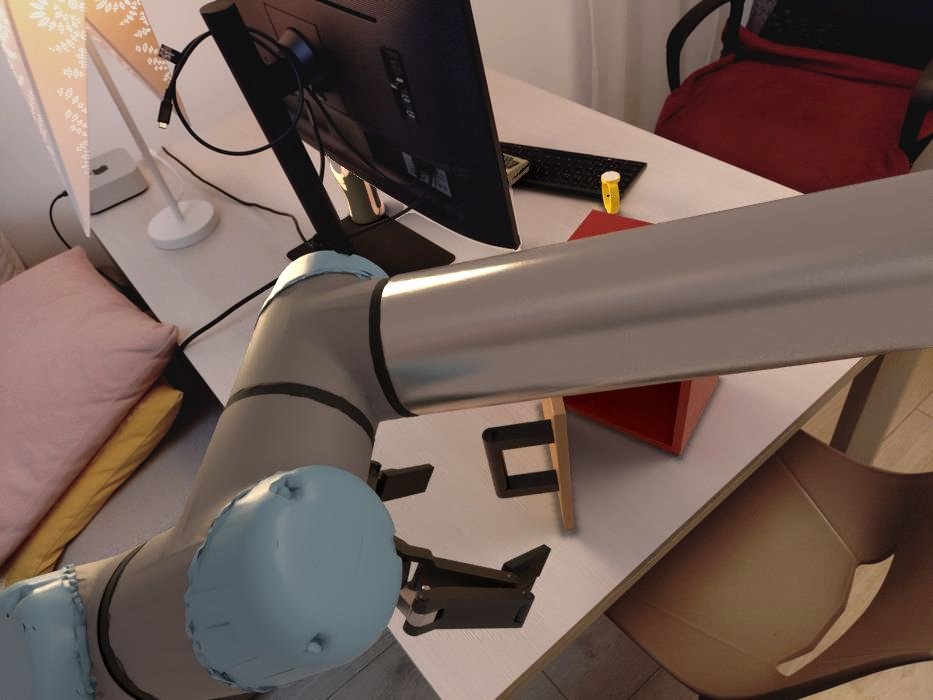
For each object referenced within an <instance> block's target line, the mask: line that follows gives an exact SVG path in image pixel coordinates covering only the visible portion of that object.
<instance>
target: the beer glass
mask: <svg viewBox="0 0 933 700" xmlns="http://www.w3.org/2000/svg"><path fill="white" fill-rule="evenodd" d="M325 156H326V159H327V162H328V166H329V168H330V171H331V172H332V174H333V177H334V179H335V181H336V182H337V184H338V186H339V187H340V190H341V191H342V192H343V194H344V196H345V198H346V201H347V204H348V208H349V215H350V218H351V220H352V221H353V222H354V223H356V224H360V225H366V224H370V223H374V222H376V221H378V220H379V219H381V218H382V217H383V215H384V214H385V211H386V208H385V207H386V206H385V205H384V203H383V201H382V199H381V198H380V195H379V193H378V188H377V187H376V188H375V187H373V186H372V185H370V184H369V183H367V182H365V181H364V180H362V179H360V178H359V177H357V176H356V175H354V174H353V173H351V172H350V171H348V170H347V169H345V168H344V167H342V166H340V165H338V164H337V163H336V162H335V161H333V160H332V159H330V157H329V156H327V154H326V153H325Z"/></svg>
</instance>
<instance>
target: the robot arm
mask: <svg viewBox="0 0 933 700" xmlns="http://www.w3.org/2000/svg"><path fill="white" fill-rule="evenodd" d="M928 349H933V168H929V169H925V170H919V171H915V172H910V173H909V172H908V173H905V174H900V175H895V176H890V177H885V178H884V177H883V178H879V179H875V180H869V181H865V182H864V181H863V182H859V183H855V184H849V185H844V186H839V187H833V188H829V189H824V190H823V189H822V190H819V191H814V192H809V193H803V194H798V195H793V196H789V197H783V198H778V199H773V200H769V201H764V202H758V203H754V204H747V205H743V206H739V207H733V208H727V209H723V210H718V211H714V212H708V213H702V214H699V215H692V216H687V217H684V218H678V219H677V218H676V219H673V220H668V221H662V222H658V223H654V224H652V225H647V226H642V227H637V228H632V229H627V230H622V231H617V232H612V233H607V234H601V235H596V236H591V237H586V238H581V239H576V240H571V241H567V240H566V241H561V242H556V243H551V244H546V245H542V246H537V247H531V248H526V249H523V250H522V249H521V251H516V252H514V251H512V252H505V253H502V254H501V253H500V254H496V255H490V256H486V257H481V258H480V257H479V258H476V259H470V260H466V261H461V262H456V263H455V262H454V263H451V264H446V265H441V266H436V267H431V268H430V267H429V268H425V269H420V270H416V271H411V272H410V271H409V272H405V273H399V274H396V275H394V276H389V275H388V274H387V273H386V271H384V270H383V269H382V268H381V267H380V266H379V265H377V264H375V263H374V262H372V261H371V260H369V259H367V258H365V257H363V256H360V255H357V254H352V255H348V254H343V253H339V252H338V253H337V252H336V250H319V251H313V252H311V253H307V254H304V255H302V256H300V257H298V258H297V259H295V260H294V261H292V262H291V263H290V264H289V265H287V267H286V268H285V269H284V270H283V271H282V272H281V274H280V275H279V277H278V279H277V280H276V283H275V285H274V287H273V289H272V291H271V293H270V295H269V296H268V297H267V299H266V300H265V301H264V302H263V304H262V306H261V308H260V310H259V312H258V314H257V317H256V321H255V325H254V328H253V333H252V335H251V339H250V341H249V344H248V347H247V349H246V351H245V354H244V356H243V357H244V358H243V360H242V362H241V365H240V368H239V370H238V372H237V374H236V375H237V376H236V378H235V381H234V383H233V386H232V389H231V391H230V394H229V397H228V399H227V401H226V404H225V405H224V408H223V411H222V413H221V415H220V416H219V419H218V421H217V424H216V426H215V429H214V432H213V434H212V436H211V439H210V442H209V444H208V446H207V448H206V452H205V454H204V457H203V459H202V461H201V464H200V466H199V468H198V471H197V474H196V477H195V479H194V481H193V484H192V486H191V489H190V491H189V493H188V497H187V499H186V502H185V504H184V507H183V509H182V512H181V514H180V517H179V518H178V520H177V522H176V524H175V525H174V526H173V527H170V528H169V529H167V530H165V531H163V532H161V533H159V534H157V535H155V536H154V537H152V538H150V539H148V540H145V542H141V543H140V544H138V545H136V546H135V547H132V548H130V549H128V550H126V551H124V552H122V553H120V554H117V555H114V556H111V557H108V558H104V559H100V560H96V561H92V562H88V563H84V564H81V565H75V563H69V564H67V565H63V566H62V567H61V568H60V569H58V570H55V571H51V572H48V573H44V574H41V575H38V576H34V577H30V578H26V579H24V580H19V581H17V582H15V583H12V584H11V585H8V586H7V587H6V588H4V589H3V590H2V591H1V592H0V700H215V699H221V698H225V697H231V696H238V695H241V694H248V693H268V692H270V691H272V690H274V689H287V688H289V687H291V686H293V685H295V684H298V683H301V682H302V681H303V680H304V679H305V678H308V677H311V676H314V675H317V674H320V673H324V672H326V671H329V670H332V669H335V668H339V667H341V666H344V665H346V664H348V663H351V662H352V661H354V660H355V659H357V658H358V657H360V656H361V655H363V654H364V653H366V652H367V651H368V650H369V649H370V648H371V647H372V646H373V645H374V644H375V643H376V642H377V641H378V640H379V638H380V637H381V635H382V634H383V633H384V631H385V630H386V629H387V627H388V625H389V623H390V621H391V619H392V618H393V615H394V613H395V610H396V608H397V609H398V611H399V612H400V613H401V614H402V615H403V616H404V617H405V620H404V623H403V625H402V631H403V632H404V633H405V634H406V635H407V636H409V637H419V636H421V635H425V634H427V633H429V632H432V631H435V630H488V629H489V630H490V629H494V630H495V629H497V630H498V629H521V628H523V626H524V624H525V622H526V620H527V617H528V616H529V612H530V610H531V608H532V606H533V604H534V601H535V600H536V596H535V594H534V593H533V591H532V590H533V587H534V585H535V583H536V582H537V581H536V580H537V578H540V576H541V574H542V572H543V570H544V567H545V565H546V562H547V560H548V558H549V556H550V554H551V551H552V548H551V547H549V546H548V545H547V544H545V543H543V544H541V545H539V546H537V547H534V548H532V549H530V550H529V551H526V552H524V553H522V554H519V555H517V556H515V557H513V558H511V559H509V560H506V561H505V562H503V563H502V566H501V567H500V568H501V569H497V568H491V567H487V566H482V565H477V564H473V563H468V562H463V561H458V560H454V559H449V558H443V557H440V556H439V557H438V556H434V554H433V552H432V550H431V549H429V548H427V547H421V546H416V545H411V544H409V543H408V542H406V541H405V540H404V539H402V538H400V537H398V536H397V535H396V533H397V530H396V526H395V522H394V521H393V518H392V516H391V514H390V512H389V510H388V508H387V507H386V505H385V504H384V503H386V502H390V501H394V500H398V499H403V498H406V497H411V496H414V495H415V496H416V495H418V494H422V493H426V491H427V489H428V486H429V484H430V481H431V479H432V475H433V472H434V470H435V468H436V467H435V466H434V465H432V464H431V463H424V464H419V465H412V466H407V467H403V468H392V467H391V468H385V469H382V466H383V465H382V463H381V462H379V461H377V460H374V459H372V457H373V451H374V448H375V442H376V435H377V432H378V428H379V424H381V423H382V422H386V421H393V420H400V419H403V418H407V419H408V418H414V417H415V418H417V417H420V416H424V415H434V414H440V413H441V414H442V413H447V412H455V411H464V410H470V409H471V410H472V409H477V408H485V407H495V406H500V405H508V404H509V405H510V404H515V403H523V402H533V401H538V400H542V399H548V398H555V397H563V396H570V395H578V394H586V393H593V392H601V391H608V390H616V389H624V388H631V387H639V386H647V385H654V384H662V383H669V382H677V381H685V380H692V379H700V378H707V377H715V376H719V377H721V376H723V377H724V376H730V375H736V374H745V373H752V372H759V371H767V370H775V369H776V370H777V369H783V368H790V367H799V366H806V365H811V364H813V365H814V364H820V363H828V362H837V361H844V360H852V359H859V358H866V357H867V358H868V357H874V356H882V355H888V354H889V355H890V354H895V353H896V354H898V353H904V352H905V353H906V352H911V351H912V352H913V351H919V350H920V351H921V350H928ZM412 563H416V564H417V565H416V568H415V571H414V573H413V576H412V578H411V579H410V580H409V576H410V572H411V567H412Z"/></svg>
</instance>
